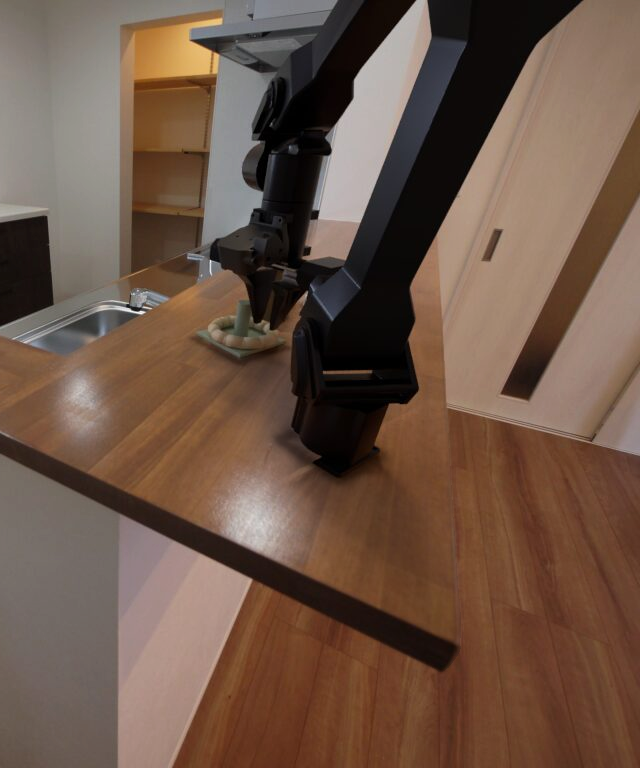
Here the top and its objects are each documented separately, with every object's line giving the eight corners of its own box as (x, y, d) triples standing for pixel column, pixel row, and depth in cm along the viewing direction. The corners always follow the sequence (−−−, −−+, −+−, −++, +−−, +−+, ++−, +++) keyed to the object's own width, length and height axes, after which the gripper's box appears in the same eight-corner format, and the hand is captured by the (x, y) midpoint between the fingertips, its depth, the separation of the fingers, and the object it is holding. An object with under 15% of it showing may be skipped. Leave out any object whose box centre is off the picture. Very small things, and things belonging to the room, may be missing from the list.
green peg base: (285, 347, 60) (293, 306, 57) (239, 362, 56) (245, 318, 53) (239, 326, 67) (245, 288, 64) (195, 339, 63) (198, 298, 60)
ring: (291, 341, 60) (294, 330, 59) (242, 357, 55) (243, 346, 54) (241, 319, 67) (243, 309, 66) (194, 332, 62) (195, 321, 61)
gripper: (182, 195, 52) (174, 316, 60) (310, 217, 38) (279, 369, 46) (247, 190, 57) (232, 302, 65) (381, 208, 44) (342, 347, 51)
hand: (265, 326), depth 57 cm, fingers closed
